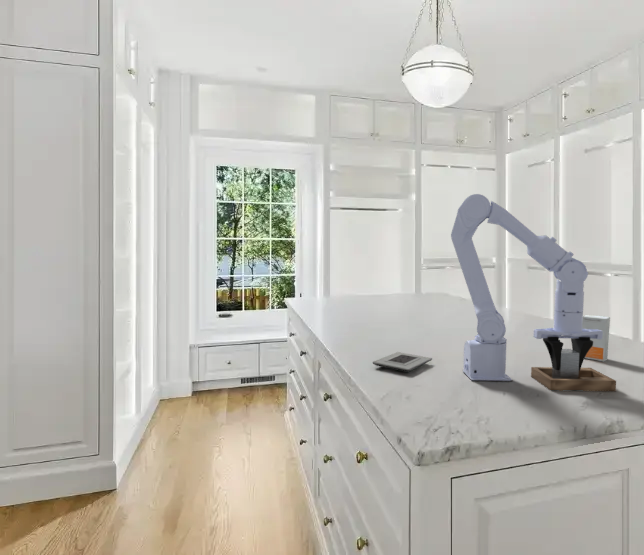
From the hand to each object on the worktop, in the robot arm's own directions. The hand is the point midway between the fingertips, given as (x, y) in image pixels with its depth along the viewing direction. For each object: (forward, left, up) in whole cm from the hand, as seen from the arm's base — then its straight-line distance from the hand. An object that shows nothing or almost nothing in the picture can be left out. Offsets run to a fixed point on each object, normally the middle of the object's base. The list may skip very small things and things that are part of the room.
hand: (566, 369), depth 101 cm
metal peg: (0, 0, -3) cm, 3 cm away
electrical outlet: (-36, +13, -4) cm, 38 cm away
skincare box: (+19, +23, -4) cm, 30 cm away
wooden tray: (+1, 0, -3) cm, 4 cm away
